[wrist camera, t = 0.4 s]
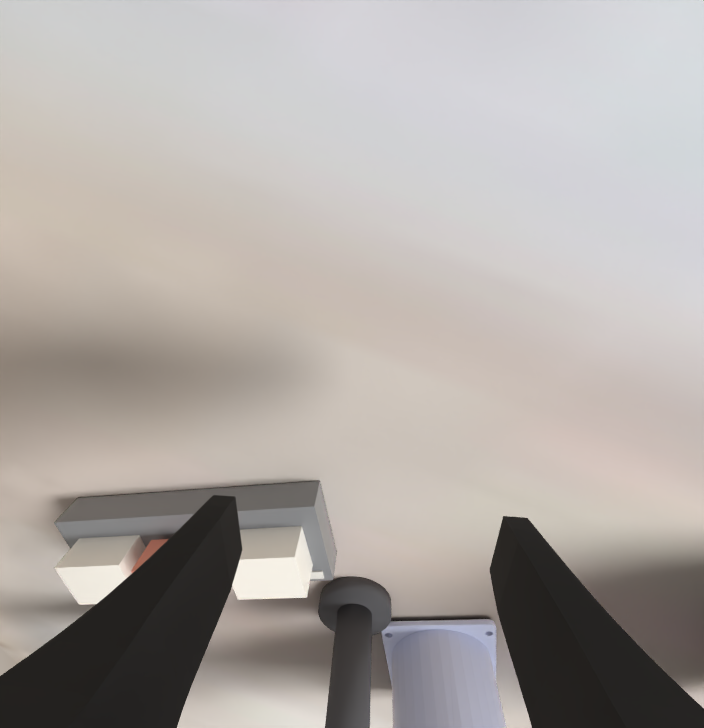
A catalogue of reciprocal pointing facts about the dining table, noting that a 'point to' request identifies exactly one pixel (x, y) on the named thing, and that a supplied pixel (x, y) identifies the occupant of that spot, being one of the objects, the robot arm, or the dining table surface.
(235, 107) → the dining table surface
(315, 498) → the breaker panel
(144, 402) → the dining table surface
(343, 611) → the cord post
